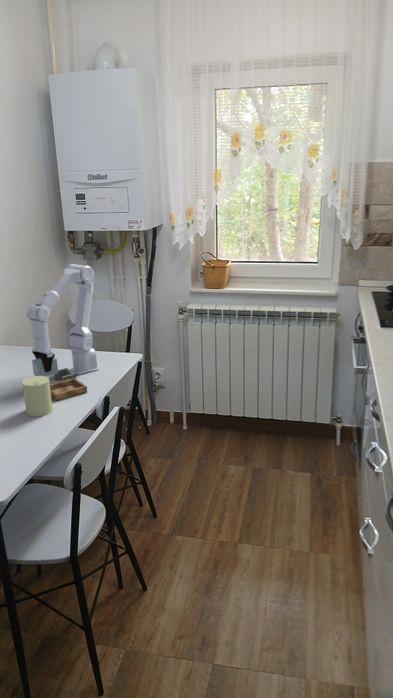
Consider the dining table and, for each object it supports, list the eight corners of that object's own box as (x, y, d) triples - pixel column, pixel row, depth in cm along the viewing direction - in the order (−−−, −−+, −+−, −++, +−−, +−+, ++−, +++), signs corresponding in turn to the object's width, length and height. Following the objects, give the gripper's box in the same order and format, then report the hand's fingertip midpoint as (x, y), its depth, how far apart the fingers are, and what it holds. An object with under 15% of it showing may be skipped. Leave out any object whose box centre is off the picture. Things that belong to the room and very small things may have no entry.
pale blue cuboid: (53, 369, 216) (51, 355, 214) (58, 373, 213) (56, 358, 211) (33, 374, 212) (31, 360, 210) (38, 378, 208) (36, 363, 206)
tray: (75, 384, 215) (74, 378, 214) (87, 392, 207) (86, 386, 206) (44, 392, 208) (43, 386, 207) (55, 401, 200) (55, 395, 199)
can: (28, 418, 187) (24, 386, 183) (23, 408, 194) (19, 377, 190) (55, 412, 191) (52, 381, 187) (49, 403, 198) (45, 372, 194)
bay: (67, 375, 223) (66, 367, 222) (76, 382, 216) (75, 374, 215) (54, 379, 220) (53, 371, 219) (63, 385, 213) (62, 377, 212)
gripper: (23, 333, 210) (28, 366, 215) (38, 343, 199) (42, 377, 204) (41, 330, 214) (45, 362, 219) (56, 339, 203) (60, 372, 208)
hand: (45, 369), depth 212 cm, fingers closed on pale blue cuboid, 5 cm apart
